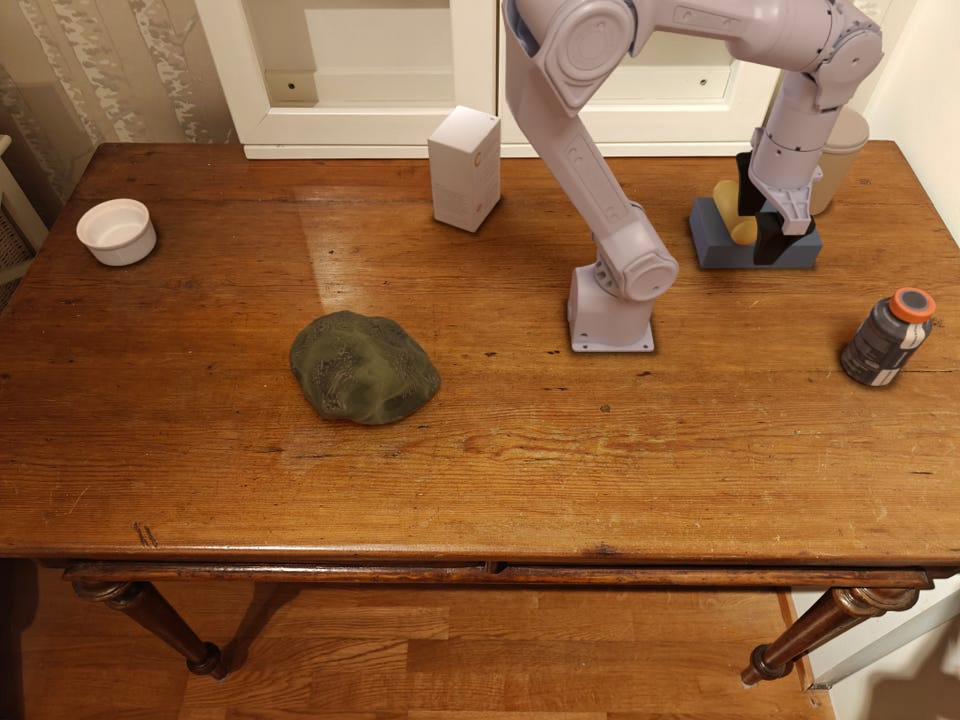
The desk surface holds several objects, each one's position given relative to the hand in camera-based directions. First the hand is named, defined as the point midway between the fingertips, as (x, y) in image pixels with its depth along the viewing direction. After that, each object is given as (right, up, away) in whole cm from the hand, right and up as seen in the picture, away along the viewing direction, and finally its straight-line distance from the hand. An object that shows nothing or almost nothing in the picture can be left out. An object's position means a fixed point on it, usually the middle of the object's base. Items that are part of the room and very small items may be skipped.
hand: (754, 237), depth 78 cm
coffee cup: (+14, +9, +20) cm, 26 cm away
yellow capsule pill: (+1, +5, +10) cm, 11 cm away
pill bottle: (+14, -14, +2) cm, 20 cm away
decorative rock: (-43, -16, +2) cm, 46 cm away
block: (+5, +2, +14) cm, 15 cm away
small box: (-32, +7, +19) cm, 38 cm away
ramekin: (-77, +1, +15) cm, 79 cm away
